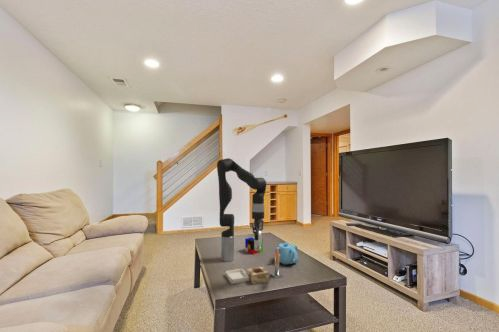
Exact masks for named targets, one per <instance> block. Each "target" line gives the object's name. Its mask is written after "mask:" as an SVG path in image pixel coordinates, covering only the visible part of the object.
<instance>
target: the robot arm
mask: <svg viewBox="0 0 499 332" xmlns="http://www.w3.org/2000/svg"><path fill="white" fill-rule="evenodd" d="M216 171H217V177H218V178H217V179H218V199H219V200H218V201H219V226H220V227H222V228H223V227H224V228H226V227H227V228H228V229H226V230H223V231H221V236H220V237H221V239H220V241H221V243H220V244H221V247H220V249H221V251H220V252H221V253H220V255H221V258H220V259H221V261H222V262H226V263H227V262H232V261H234V260H235V256H234V255H235V253H234V252H235V246H234V245H235V230H234V229H235V215H234V213H225V210H226V209H227V207H228V205H229V204H230V203H231V201H232V199H233V190H232V187H231V185H230V183H229V182H228V181H227V178H226V177H227V176H226V174H227V173H229V172H234V173H236V176H237V178H238V179H239V180H240V181H242V182H244V183H245V184H246V185H247V186H248V187H249V188H251V189H252V190H256V192H255V193H253V194H252V197H251V198H252V200H251V201H252V203H251V219H253V220H254V221H253V223H252V225H251V227H252V228H251V229H252V234H253V235H254V234H255V240H258V233H259V230H260V231H263V230H264V219H265V194H266V190H267V180H266V179H265V178H264V177H255V175H254V174H253V173H251V172H250V171H247V170H246V169H245V168H243V167H241V166H240V165H239V164H238V163H237V162H235V161H234V160H233V159H232V158H229V157H228V158H223V159H218V161H217V162H216Z"/></svg>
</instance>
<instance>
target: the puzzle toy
mask: <svg viewBox="0 0 499 332" xmlns="http://www.w3.org/2000/svg"><path fill="white" fill-rule="evenodd" d="M244 239H245V243H244V244H245V247H244V251H245V252H246V253H248V254H250V255H256V254H259V253H263V252H264V251H263V244H264V243H263V239H262V250H260V251H256V250H254V236H250V237H248V238H244Z"/></svg>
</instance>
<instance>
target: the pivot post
mask: <svg viewBox="0 0 499 332" xmlns="http://www.w3.org/2000/svg"><path fill="white" fill-rule="evenodd" d="M269 275H270V276H271V277H273V279H279V278H284V274H283V273H281V272H280V264H279V265H275V264H274V272H269Z"/></svg>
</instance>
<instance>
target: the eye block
mask: <svg viewBox="0 0 499 332" xmlns="http://www.w3.org/2000/svg"><path fill="white" fill-rule="evenodd" d="M246 273H247V274H248V276H249V277H250V281H249V282H251V284H253V285H256V284H261V283H262V284H264V283H266V282H267V283H268V282H270V272H269V271H268V270H267V269H266V268H265V267H264V266H256V267H251V268H249V267H248V268H247V269H246Z"/></svg>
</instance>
